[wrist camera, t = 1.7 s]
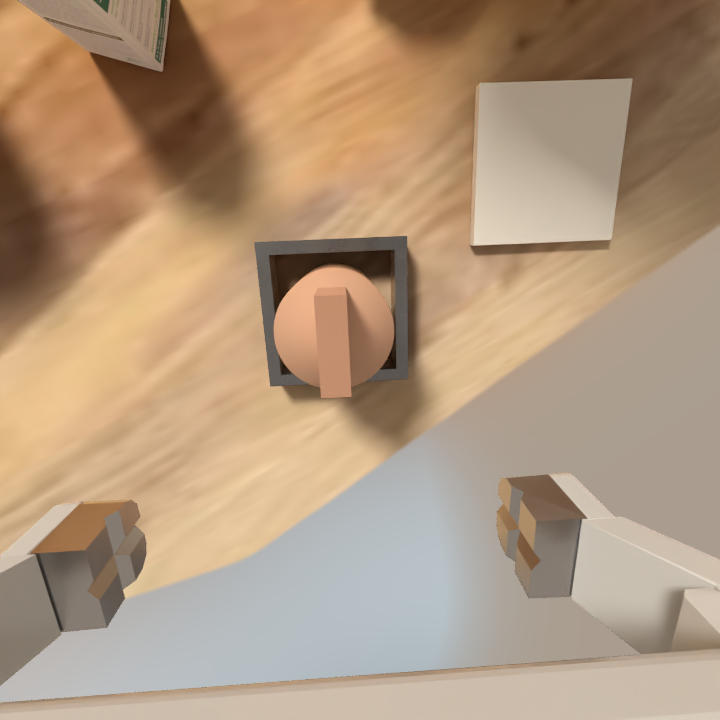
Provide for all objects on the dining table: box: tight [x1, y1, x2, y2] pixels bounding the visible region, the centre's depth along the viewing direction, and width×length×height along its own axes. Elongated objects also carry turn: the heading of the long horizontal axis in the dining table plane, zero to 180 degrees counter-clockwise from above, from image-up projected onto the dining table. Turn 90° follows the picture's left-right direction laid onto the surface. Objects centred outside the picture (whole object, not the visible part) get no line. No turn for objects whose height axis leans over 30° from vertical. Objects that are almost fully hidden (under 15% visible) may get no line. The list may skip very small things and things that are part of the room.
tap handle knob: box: [274, 263, 394, 398], centre depth 30 cm, size 8×8×14 cm
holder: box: [255, 236, 408, 386], centre depth 35 cm, size 12×12×3 cm
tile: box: [470, 78, 633, 246], centre depth 33 cm, size 12×12×1 cm
